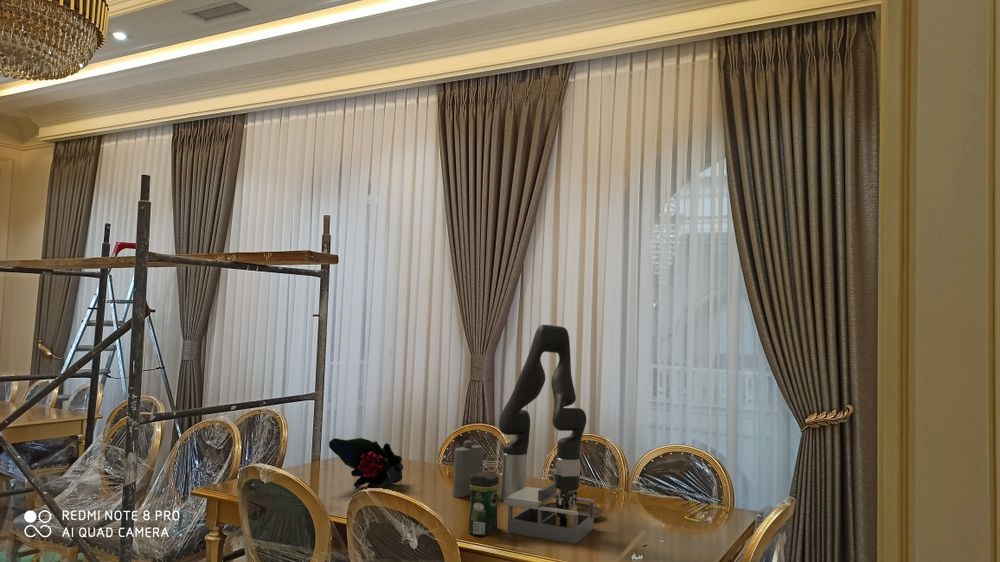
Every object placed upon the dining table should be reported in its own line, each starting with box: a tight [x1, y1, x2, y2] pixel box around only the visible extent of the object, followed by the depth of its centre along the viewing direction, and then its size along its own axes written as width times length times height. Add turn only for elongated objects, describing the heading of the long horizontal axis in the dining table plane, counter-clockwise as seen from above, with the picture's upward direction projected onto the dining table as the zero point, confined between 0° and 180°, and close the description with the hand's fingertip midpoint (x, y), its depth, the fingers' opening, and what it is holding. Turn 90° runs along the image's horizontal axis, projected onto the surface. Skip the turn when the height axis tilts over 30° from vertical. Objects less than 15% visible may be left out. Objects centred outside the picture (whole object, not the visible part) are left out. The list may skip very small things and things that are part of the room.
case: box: [507, 494, 595, 545], centre depth 217 cm, size 22×18×10 cm
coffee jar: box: [468, 470, 500, 537], centre depth 216 cm, size 10×8×19 cm
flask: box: [452, 440, 484, 498], centre depth 266 cm, size 15×6×20 cm, turn 146°
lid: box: [503, 482, 561, 509], centre depth 220 cm, size 11×20×5 cm, turn 156°
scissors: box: [684, 498, 723, 522], centre depth 248 cm, size 25×10×5 cm, turn 140°
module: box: [556, 505, 577, 528], centre depth 215 cm, size 5×5×8 cm
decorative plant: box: [328, 437, 404, 489], centre depth 269 cm, size 21×26×30 cm
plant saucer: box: [542, 501, 604, 522], centre depth 237 cm, size 21×21×3 cm
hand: (566, 528), depth 215 cm, fingers closed on module, 5 cm apart
